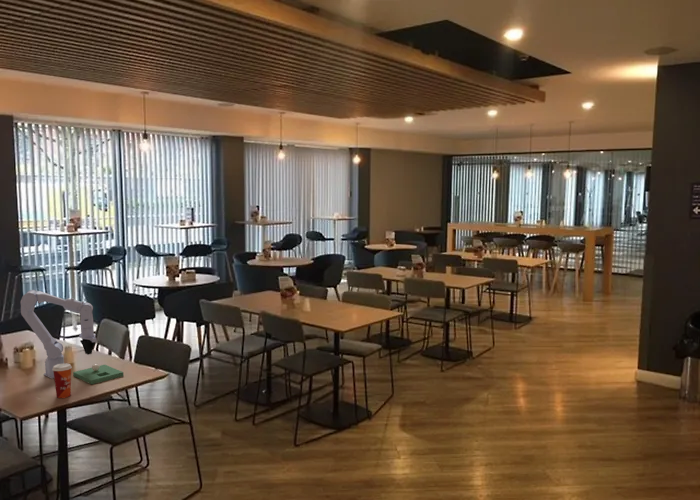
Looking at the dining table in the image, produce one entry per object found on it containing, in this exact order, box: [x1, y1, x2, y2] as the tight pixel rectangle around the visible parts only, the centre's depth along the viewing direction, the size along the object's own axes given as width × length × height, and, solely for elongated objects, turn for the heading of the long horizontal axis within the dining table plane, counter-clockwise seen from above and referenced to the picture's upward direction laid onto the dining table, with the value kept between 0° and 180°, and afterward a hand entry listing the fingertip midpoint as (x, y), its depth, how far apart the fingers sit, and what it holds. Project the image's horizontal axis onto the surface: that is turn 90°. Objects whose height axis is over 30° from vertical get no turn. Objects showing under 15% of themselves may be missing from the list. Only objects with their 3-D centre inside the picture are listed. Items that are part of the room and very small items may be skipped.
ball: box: [91, 363, 100, 371], centre depth 287 cm, size 4×4×4 cm
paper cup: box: [52, 362, 72, 399], centre depth 258 cm, size 8×8×14 cm
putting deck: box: [72, 364, 124, 385], centre depth 286 cm, size 19×16×2 cm
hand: (88, 353), depth 291 cm, fingers closed
